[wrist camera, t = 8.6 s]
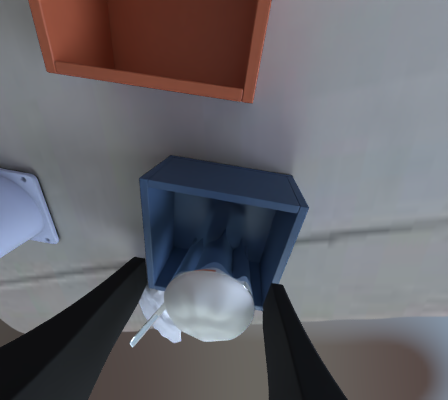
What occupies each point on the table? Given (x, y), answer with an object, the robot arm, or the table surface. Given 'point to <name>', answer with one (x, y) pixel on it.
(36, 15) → the terracotta bin
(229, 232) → the milkshake
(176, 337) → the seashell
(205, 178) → the slate bin
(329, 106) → the table surface
